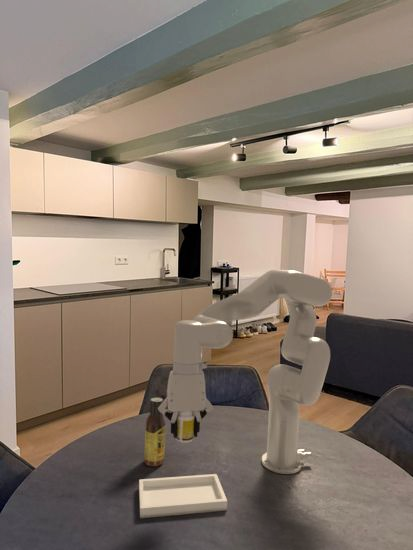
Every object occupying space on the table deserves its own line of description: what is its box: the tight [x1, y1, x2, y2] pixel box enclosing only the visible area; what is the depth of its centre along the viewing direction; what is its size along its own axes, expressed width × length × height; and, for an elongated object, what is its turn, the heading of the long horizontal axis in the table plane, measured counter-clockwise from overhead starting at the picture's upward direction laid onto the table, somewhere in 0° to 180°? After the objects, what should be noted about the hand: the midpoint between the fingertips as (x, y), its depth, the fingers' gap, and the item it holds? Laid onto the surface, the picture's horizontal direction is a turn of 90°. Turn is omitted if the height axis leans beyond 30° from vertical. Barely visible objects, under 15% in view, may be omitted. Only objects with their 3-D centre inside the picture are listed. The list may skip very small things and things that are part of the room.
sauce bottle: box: [143, 397, 167, 468], centre depth 120 cm, size 7×6×20 cm
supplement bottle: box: [175, 411, 195, 444], centre depth 102 cm, size 5×5×8 cm
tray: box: [138, 473, 228, 519], centre depth 102 cm, size 22×12×2 cm, turn 101°
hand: (184, 434), depth 102 cm, fingers closed on supplement bottle, 4 cm apart
